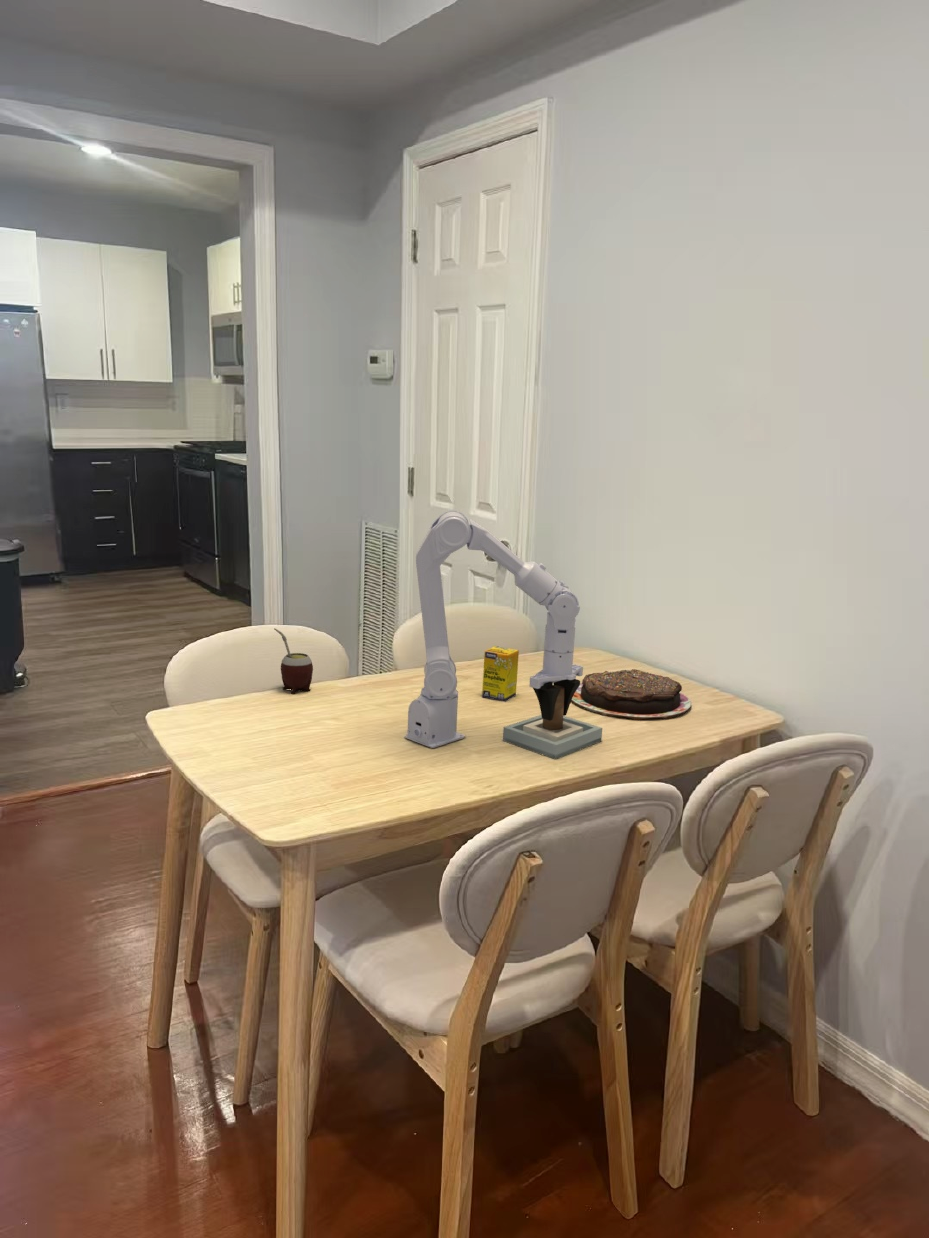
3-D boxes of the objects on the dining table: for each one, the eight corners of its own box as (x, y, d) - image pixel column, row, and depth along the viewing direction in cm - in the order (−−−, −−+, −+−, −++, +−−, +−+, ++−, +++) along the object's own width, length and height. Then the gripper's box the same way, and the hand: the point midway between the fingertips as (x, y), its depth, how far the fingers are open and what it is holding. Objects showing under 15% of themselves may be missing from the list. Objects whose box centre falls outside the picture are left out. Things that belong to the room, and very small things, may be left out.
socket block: (556, 747, 173) (557, 736, 173) (522, 736, 179) (523, 725, 178) (582, 738, 179) (583, 727, 179) (548, 727, 185) (549, 716, 184)
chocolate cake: (541, 698, 208) (543, 670, 207) (615, 678, 227) (617, 653, 226) (643, 731, 188) (645, 701, 187) (714, 706, 207) (717, 679, 206)
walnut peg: (553, 731, 176) (554, 691, 174) (538, 726, 179) (539, 687, 177) (567, 727, 178) (568, 688, 177) (552, 722, 181) (553, 683, 180)
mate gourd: (316, 686, 207) (316, 622, 204) (306, 697, 199) (307, 630, 196) (284, 684, 208) (284, 620, 204) (273, 694, 200) (273, 628, 197)
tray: (555, 759, 169) (556, 745, 169) (502, 740, 178) (503, 727, 177) (601, 741, 180) (602, 727, 180) (549, 724, 189) (550, 711, 188)
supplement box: (481, 697, 205) (483, 650, 203) (493, 691, 210) (495, 645, 208) (505, 702, 202) (508, 654, 200) (516, 695, 208) (519, 649, 205)
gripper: (552, 659, 167) (547, 729, 170) (597, 648, 178) (592, 714, 181) (522, 652, 172) (518, 720, 175) (568, 640, 182) (563, 705, 185)
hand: (554, 716), depth 178 cm, fingers closed on walnut peg, 4 cm apart
